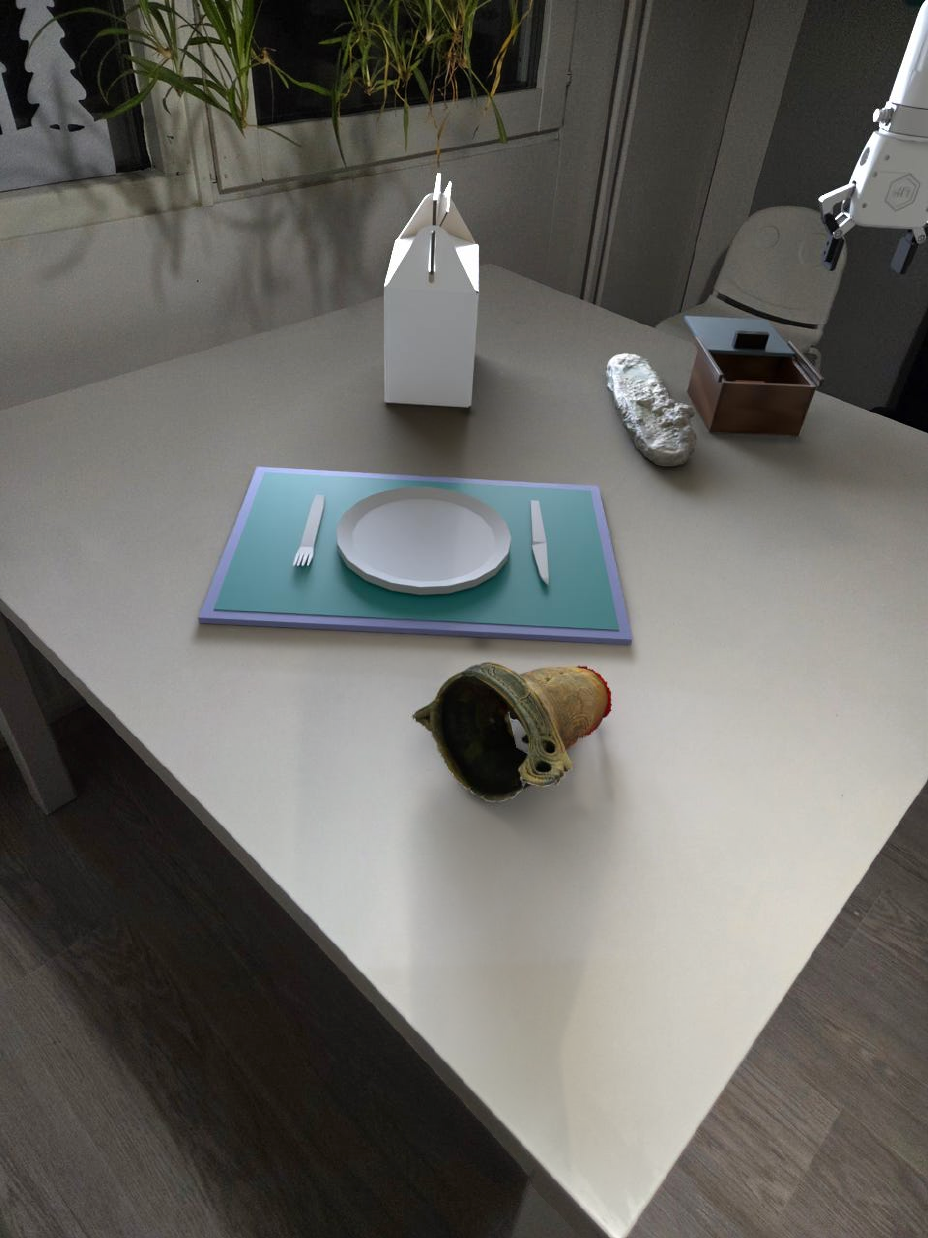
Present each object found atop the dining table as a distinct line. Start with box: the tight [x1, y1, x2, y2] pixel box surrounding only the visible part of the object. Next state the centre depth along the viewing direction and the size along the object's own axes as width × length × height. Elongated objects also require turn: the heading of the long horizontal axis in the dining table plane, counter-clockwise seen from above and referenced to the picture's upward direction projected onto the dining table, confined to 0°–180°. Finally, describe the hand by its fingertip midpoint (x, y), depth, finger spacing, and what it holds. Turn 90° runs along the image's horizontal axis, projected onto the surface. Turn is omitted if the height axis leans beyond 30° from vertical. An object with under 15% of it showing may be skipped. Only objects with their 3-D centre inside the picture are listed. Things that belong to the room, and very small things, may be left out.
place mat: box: [198, 466, 634, 646], centre depth 96 cm, size 45×30×2 cm
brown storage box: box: [686, 337, 825, 437], centre depth 127 cm, size 16×14×9 cm
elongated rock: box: [605, 352, 698, 467], centre depth 126 cm, size 35×5×10 cm
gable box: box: [383, 173, 480, 409], centre depth 125 cm, size 22×13×28 cm, turn 179°
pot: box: [411, 661, 613, 804], centre depth 72 cm, size 17×11×18 cm
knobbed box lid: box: [684, 315, 795, 358], centre depth 131 cm, size 14×14×3 cm
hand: (862, 269), depth 110 cm, fingers open, 9 cm apart
